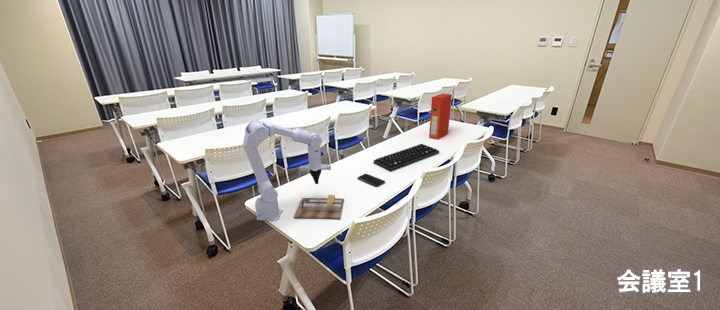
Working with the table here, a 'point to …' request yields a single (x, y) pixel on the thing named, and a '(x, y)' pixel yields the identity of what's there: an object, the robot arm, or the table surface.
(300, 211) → the walnut board
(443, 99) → the file binder
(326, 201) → the bar
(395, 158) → the computer keyboard
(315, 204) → the fixed tong arm
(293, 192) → the table surface
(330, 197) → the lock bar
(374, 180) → the phone
